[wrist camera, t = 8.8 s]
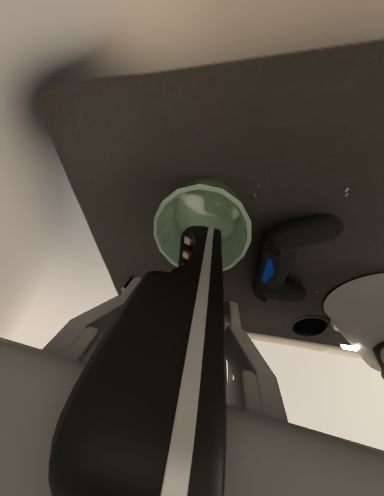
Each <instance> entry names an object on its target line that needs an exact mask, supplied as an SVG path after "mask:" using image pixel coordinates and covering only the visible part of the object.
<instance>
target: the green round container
mask: <svg viewBox="0 0 384 496" xmlns="http://www.w3.org/2000/svg"><path fill="white" fill-rule="evenodd" d="M190 226H205V227H209V226H211V227H214V228H216V229H219V230H220V231H221V240H222V267H223V271H225V270H227V269H230V268H232V267H233V266H234V265H235V264H236V263H237V262H239V261H240V260H241V259H242V258H243V257H244V256H245V253H246V251H247V249H248V247H249V245H250V243H251V220H250V218H249V216H248V214H247V212H246V210H245V208H244V207H243V205H242V203H241V201H240V199H239V197H238V195H237V194H236V192H235V190H234V189H233V188H231V187H230V186H229V185H228V184H226V183H225V182H223V181H222V180H218V179H214V178H208V177H206V178H201V179H197V180H193V181H191V182H189V183H187V184H185V185H184V186H182V187H180V188H179V189H177V190H176V191H175V192H173V193H172V194H171V195H169V196H168V197H167V198H166V199H164V200H163V201H162V202H161V204H160V206H159V208H158V211H157V213H156V215H155V217H154V238H155V240H156V243H157V245H158V248H159V250H160V252H161V253H162V254H163V255H164V256H165V257H166V258H167V260H168V261H169V262H170V263H171V264H173V265H175V266H177V267H178V264H179V253H180V242H181V236H182V233H183V231H184V230H185V229H186V228H188V227H190Z"/></svg>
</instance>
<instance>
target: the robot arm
mask: <svg viewBox="0 0 384 496" xmlns="http://www.w3.org/2000/svg"><path fill="white" fill-rule="evenodd" d="M141 279H142V278H139V277H134V278H133V279H132V281H131V282H130V283H129V285H128V286H127V287H126V289H125V290H124V291H123V293H122V294H121V295H120V296H116V297H114V298H112V299H110V300H108V301H107V302H104V303H103V304H101V305H99V306H97V307H95V308H93V309H91V310H89V311H87V312H85V313H83V314H81V315H79V316H77V317H75V318H73V319H71V320H70V321H69V322H68V323H67V324H66V325H65V326H64V327H63V328H62V329H61V331H60V332H59V333H58V334H57V335H56V336H55V337H54V338H53V339H52V340H51V341H50V342H49V343H48V344H47V345H46V346H45V347H44V348H43V349H42V350H41V349H38V348H34V347H31V346H27V345H24V344H21V343H17V342H14V341H11V340H7V339H4V338H1V337H0V496H52V494H51V490H50V486H49V482H48V473H49V458H50V451H51V444H52V438H53V435H54V431H55V428H56V425H57V422H58V419H59V416H60V414H61V412H62V410H63V407H64V405H65V403H66V401H67V399H68V397H69V395H70V393H71V391H72V389H73V387H74V385H75V383H76V382H77V380H78V378H79V376H80V374H81V373H82V371H83V369H84V367H85V366H86V364H87V362H88V361H89V359H90V357H91V356H92V354H93V352H94V351H95V349H96V347H97V346H98V344H99V343H100V341H101V339H102V338H103V336H104V334H105V333H106V331H107V330H108V328H109V326H110V325H111V323H112V322H113V320H114V318H115V317H116V315H117V314H118V312H119V310H120V309H121V307H122V306H123V304H124V303H125V301H126V300H127V298H128V296H129V295H130V293H131V292H132V291H133V290H134V288H135V287H136V286H137V284H138V283H139V282H140V280H141ZM323 308H324V311H325V313H326V314H327V315H328V317H329V318H330V325H331V326H332V328H333V329H334V330H336V331H340V332H341V333H342V334H343V336H344V337H345V338H346V339H347V340H348V342H349V343H350V344H351V345H352V346H348V345H342V344H341V347H342V348H343V349H346V350H352V351H357V352H358V353H359V355H360V356H361V357H362V358H363V359H364V361H365V362H366V363H367V364H368V365H369V366H370V367H372V368H374V369H376V370H378V371H380V372H381V376H382V378H383V379H384V273H380V274H373V275H368V276H364V277H361V278H358V279H355V280H352V281H350V282H347V283H345V284H343V285H341V286H340V287H338V288H337V289H335V290H334V291H333V292H331V293H330V294H329V295H328V297H327V298H326V299H325V301H324V305H323ZM224 318H225V357H226V359H227V362H228V364H229V366H230V369H231V371H232V373H233V375H234V378H235V379H234V380H233V381H232V382H231V383H230V384H228V385H227V386H226V465H225V486H224V496H384V451H382V450H379V449H376V448H372V447H369V446H366V445H362V444H359V443H356V442H352V441H349V440H346V439H342V438H339V437H335V436H332V435H329V434H325V433H322V432H318V431H315V430H311V429H308V428H305V427H301V426H298V425H295V424H291V423H288V420H287V416H286V412H285V409H284V405H283V401H282V397H281V393H280V390H279V386H278V383H277V379H276V377H275V375H274V374H273V372H272V371H271V369H270V368H269V366H268V365H267V363H266V362H265V361H264V359H263V357H262V356H261V354H260V353H259V351H258V350H257V348H256V347H255V345H254V344H253V342H252V341H251V339H250V338H249V336H248V335H247V333H246V332H245V330H244V329H241V323H240V316H239V309H238V303H237V302H234V301H230V300H226V299H224Z"/></svg>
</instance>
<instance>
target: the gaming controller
mask: <svg viewBox="0 0 384 496" xmlns="http://www.w3.org/2000/svg"><path fill="white" fill-rule="evenodd" d="M342 231H343V222H342V220H341V219H340V218H338V217H337V216H334V215H330V214H324V215H319V216H314V217H310V218H306V219H301V220H297V221H293V222H289V223H287V224H284V225H282V226H279V227H277V228H275V229H273V230H271V231H269V232H268V233H267V234H266V235H265V236H264V238H263V240H262V243H261V246H262V252H261V259H260V263H259V267H258V271H257V275H256V278H255V280H254V281H253V282H252V291H253V294H254V295H255V296H257V297H258V298H259V299H260V300H262V301H263V302H266V300H268V299H273V300H280V301H287V302H301V301H303V300H305V298H306V296H307V292H306V289H305V288H304V287H303V286H302V285H300V284H297V283H295V282H291V281H286V280H285V279H286V277H287V275H288V272H289V270H290V268H291V265H292V262H293V259H294V257H295V254H296V251H297V249H298V248H299V247H305V246H309V245H314V244H318V243H323V242H326V241H329V240H332V239H335V238H336V237H337V236H339V235H340V234H341V233H342Z"/></svg>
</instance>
